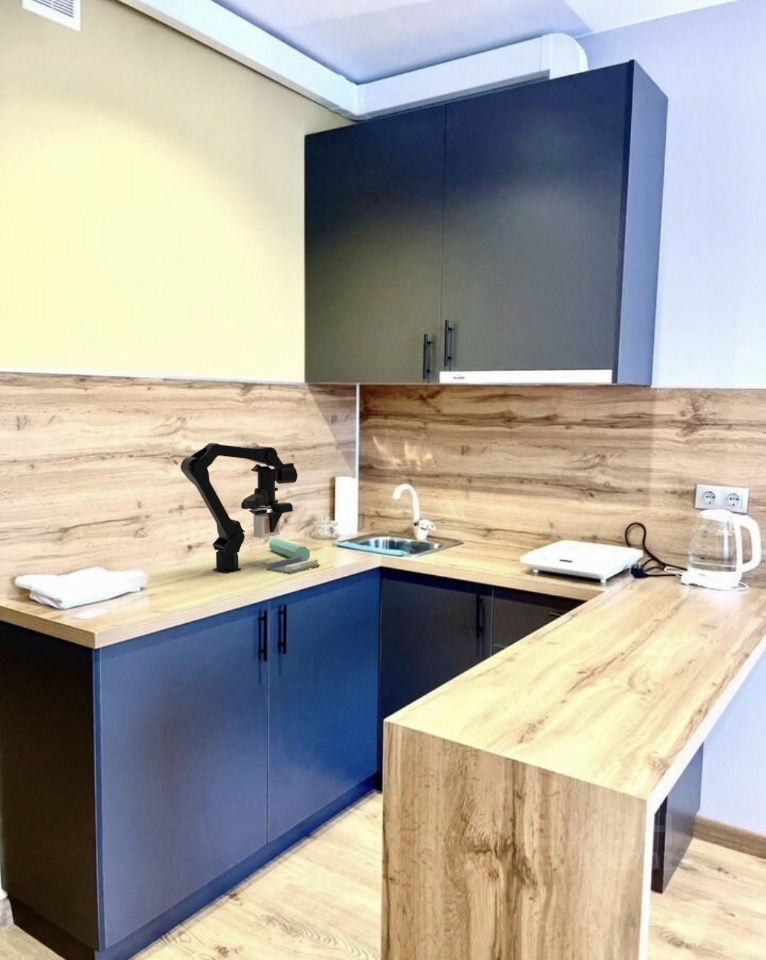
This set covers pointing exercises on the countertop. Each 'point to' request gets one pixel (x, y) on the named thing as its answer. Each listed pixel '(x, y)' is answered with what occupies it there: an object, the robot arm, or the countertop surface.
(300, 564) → the shallow grey tray
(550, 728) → the countertop surface
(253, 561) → the countertop surface
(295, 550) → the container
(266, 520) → the product box
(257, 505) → the robot arm
